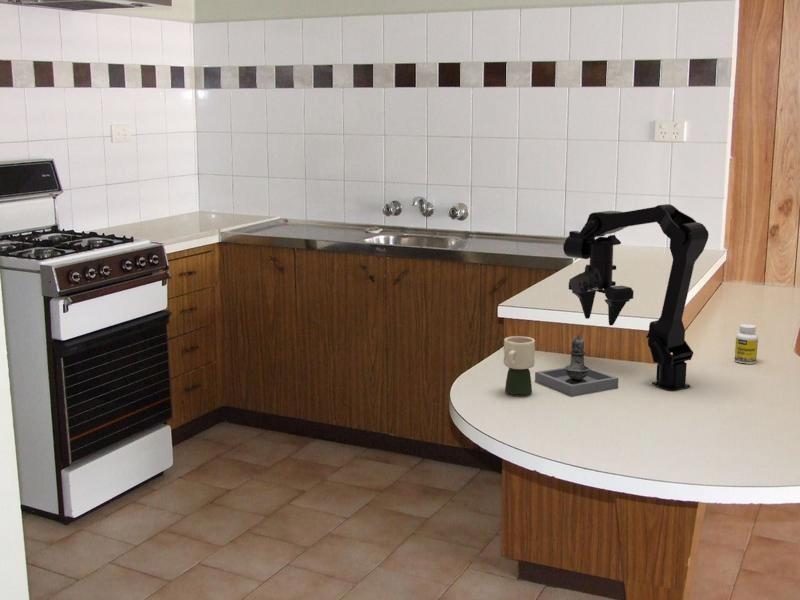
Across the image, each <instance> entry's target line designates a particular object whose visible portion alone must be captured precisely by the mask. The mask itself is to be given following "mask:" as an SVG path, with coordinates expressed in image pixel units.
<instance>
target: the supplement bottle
mask: <svg viewBox="0 0 800 600" xmlns="http://www.w3.org/2000/svg"><path fill="white" fill-rule="evenodd" d="M756 331H757V326H756V325H754V324H748V323H745V324H744V323H741V324H739V332H738V333H736V337H735V349H734V362H735V363H737V362H739V363H738V364H741V363H746V364H745V365H754V364H756V363H757V360H758V359H757V357H758V343H759V335H758V334H756ZM753 363H754V364H753Z"/></svg>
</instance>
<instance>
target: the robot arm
mask: <svg viewBox="0 0 800 600" xmlns="http://www.w3.org/2000/svg"><path fill="white" fill-rule="evenodd" d="M653 223H657V224H658V225H659V226H660V229H661V231H662V233H663V234H664V235H665V236H666V237H667V238H668V239H669V250H670V253H671V254H670V255H671V256H672V263H671V264H672V265H671V268H670V273H669V275H668V276H669V277H668V282H667V287H666V291H665V296H664V298H663V299H664V300H663V303H662V304H663V305H662V310H661V314H660V316H659V318H658V319H657V320H653V321H650V322H649V326H648V333H647V335H646V337H645V338H646V339H647V346H648V347H649V349H650V353H651V357H652V361H653V363H655V364H656V374H655V375H656V377H655V381H652V382H651V385H652V386H656V387H659V388H661V389H664V390H667V391H676V390H682V389H686V388H687V389H688V388H691V385H690V384H689V383H686V380H687V367H688V366H687V361H691V360H692V358H693V355H694V351H693V350H692V348H691V347H690V346H689V344H688V343H687V341H686V340H685V337H686V328H685V325H684V323H683V316H684V312H685V306H686V303H687V298H688V293H689V290H690V285H691V281H692V276H693V271H694V267H695V263H696V262H697V260H698V259H699V258H700V256H701V254H702V253H703V251H704V250H705V247H706V245H707V243H708V240H709V231H708V229H707V227H706V226H705V225H704V224H703V223H701V222H699V221H698V222H697V220H695V219H694V217H692V216H690V215H687V214H685V213H684V212H682V211H681V210H679V209H678V208H677V207H675V206H674V205H672V204H669V203H668V204H667V203H665V204H658V205H656V206H653V207H646V208H641V209H633V210H628V211H620V210H619V211H618V210H617V211H616V210H606V211H605V210H604V211H597V212H591V213H590V214H589V215H588V217H587V221H586V222H585V224H584V226H583V227H582V228H581V230H580V231H579V230H571V231H569V233H568V236H567V237H566V239H565V241H564V244H563V245H562V246H563V247H562V248H563V253H564V254H565V256H566V257H569V258H575V259H581V260H582V259H583V260H588V259H589V264H585V267H584V271H583V272H580V273H578V274H577V275H575V276H573V277H571V278H569V281H568V290H569V291H571V293H572V294H574V295H575V296H576V297H577V298H578V299H579V303H580V305H581V308H582V312H583V315H584V318H585V319H587V320H588V319H590V318H591V315H592V311H593V306H594V302H595V299H596V298H595V297H596V292H597V293H598V292H599V293H601V294H604V296H605V297H606V299H604V302H605V303H606V305H607V307H608V308H607V312H608V313H607V314H608V319H607V320H608V326H614V324H615V323H616V321H617V318H619V316H620V314H621V312H622V310H623V308H624V307H625V305H626V304H627V302H630V300H632V299H634V290H633V288H632V287H631V286H630V287H629V286H627V285H626V286H625V285H616V284H617V283H616V282H617V281H613V271H615V270H617V265H615V264H613V263H614V246H618V245H621V244H622V242H621V240H620V239H618V238H617V236H616V235H615V233H617V232H620V231H621V230H624V229H626V228H628V227H635V226H640V225H647V224H653ZM606 235H608V236H607V237H606Z"/></svg>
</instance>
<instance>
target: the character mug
mask: <svg viewBox="0 0 800 600" xmlns="http://www.w3.org/2000/svg"><path fill="white" fill-rule="evenodd" d="M503 350H504V354H503V355H504V357H503V365H504V366H505V367H506V368H508V370H507V373H506V374H507V375H506V379H505V388H504V392H505V393H507V394H514V395H515V396H517V395H530V394H532V393H533V389H532V387H533V386H532V379H531V378H532V376H531V371H530V369H532V368H534V367H535V364H536V363H535V361H536V360H535V357H536V356H535V355H536V340H535V339H534V338H532V337H529V336H522V335H521V336H518V335H516V336H515V335H514V336H506V337H505V338H504V339H503Z"/></svg>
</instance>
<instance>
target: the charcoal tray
mask: <svg viewBox="0 0 800 600" xmlns="http://www.w3.org/2000/svg"><path fill="white" fill-rule="evenodd" d="M534 373H535V374H534V383H536V384H539V385H542V386H544V387H546V388H548V389H551V390H554V391H556V392H559V393H561V394H563V395H566V396H569V397H571V398H572V397H577V396H583V395H588V394H593V393H599V392H603V391H610V390H611V391H612V390H616V389H618V388H619V379H620V378H619V377H617V376H614V375H611V374H608V373H606V372H603V371H600V370H597V369H595V368H592V367H589V371H588V374H587V376H586V377H585V378H583V379H584V380H586V381H587V382H584V383H579V384H573V385H572V384H569V383H567V382H565V381H566V380H568V379H570V377H569V376H568V375H567V373H566V369H565V366H564V367H557V368H552V369H546V370H540V371H535V372H534Z"/></svg>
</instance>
